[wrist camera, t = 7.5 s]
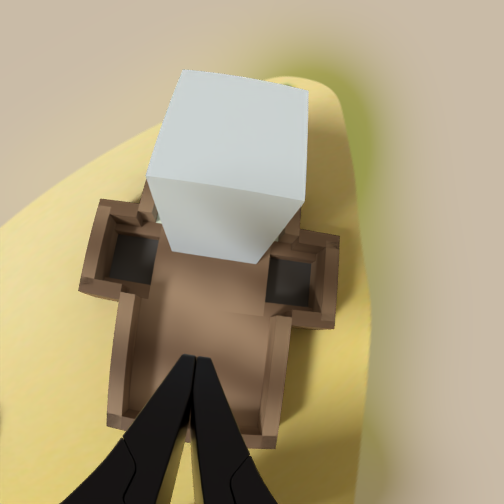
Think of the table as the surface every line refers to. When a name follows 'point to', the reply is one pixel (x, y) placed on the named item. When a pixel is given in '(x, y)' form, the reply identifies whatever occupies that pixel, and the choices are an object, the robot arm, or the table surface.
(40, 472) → the table surface
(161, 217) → the block
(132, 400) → the brown compartment tray
